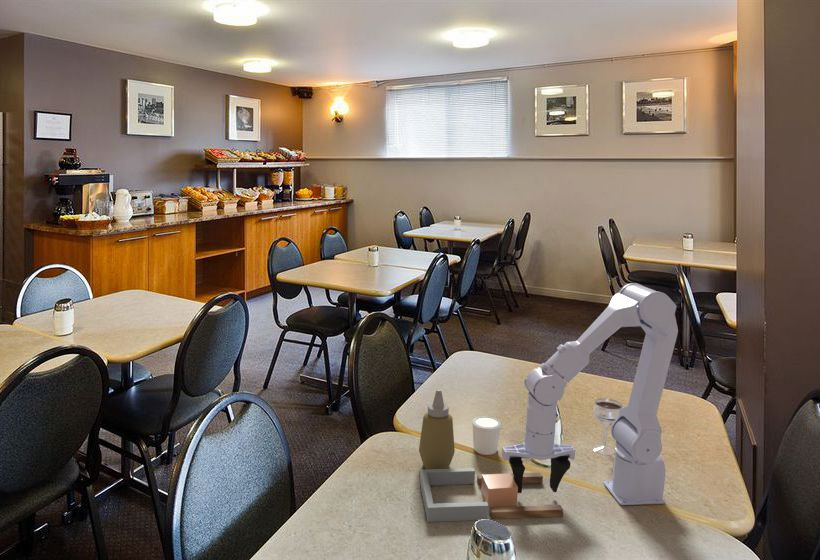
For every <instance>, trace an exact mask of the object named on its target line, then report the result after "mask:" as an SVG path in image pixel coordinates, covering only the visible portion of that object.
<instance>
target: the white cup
mask: <svg viewBox="0 0 820 560" xmlns="http://www.w3.org/2000/svg"><path fill="white" fill-rule="evenodd" d="M471 421H472V438H473V440H472V441H473V450H474V451H475V452H476V453H478V454H480V455H484V456H485V455H487V456H490V455H494V454H495V453H497V451H498V447H499V442H500V441H499V440H500V435H501V434H500V432H501V428H502V423H501V420H499V419H498V418H495V417H493V416H485V415H484V416H483V415H481V416H476V417H474V418H473V420H471Z"/></svg>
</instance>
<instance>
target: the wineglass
mask: <svg viewBox="0 0 820 560" xmlns="http://www.w3.org/2000/svg"><path fill="white" fill-rule="evenodd" d="M593 403H594V406H593V408H592V411H593V412H592V413H593V417H594V418H595V419H596V420H597V421H598V422H599V423H600V424H602V425H603V426H604V432H603V433H604V434H603V435H604V436H603V444H596V445H594V446H593V451H594V452H596V453H597V454H600V455H604V456H613V455H615V449H614V448H612V447H611V446H608V445H607V438H608V430H609V427H610V426H612V424H613V422H614V421H615V420H616V418H617V417H618V415H619V412H620V409H622V408H623V407H625V406H624V404H623V403H622V402H620V401H618V400H617V399H616V400H615V399H612V398H607V397H601V398H600V397H599V398H595V400H594V401H593Z"/></svg>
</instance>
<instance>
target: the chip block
mask: <svg viewBox="0 0 820 560" xmlns="http://www.w3.org/2000/svg"><path fill="white" fill-rule="evenodd" d="M481 495H482V497H483V500H484V502H487V503H488V508H490V507H513V506H518V495H519V493H518V486H517V484H516V483H515V481H514V479H513V477H512V476H511V472H510V473H488V475H482V485H481Z"/></svg>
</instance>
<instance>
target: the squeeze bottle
mask: <svg viewBox="0 0 820 560" xmlns="http://www.w3.org/2000/svg"><path fill="white" fill-rule="evenodd" d="M444 402H445V401H444V397H443V392H442V390H441V389H436V391H435V394H434V398H433V402H430V403H429V404H428V406H427V412H426V413H425V414H423V417H422V425H421V431H420V439H419V447H418V452H419V454H420V455H419V456H420V459H421V462H422V465H423V467H424V468H425V469H450V465H451V463H452V460H453V458H454V455H455V437H454V422H453V416H452V415H451V414H450V413H449V409H450V406H449V405H448V404H446V403H444Z"/></svg>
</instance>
